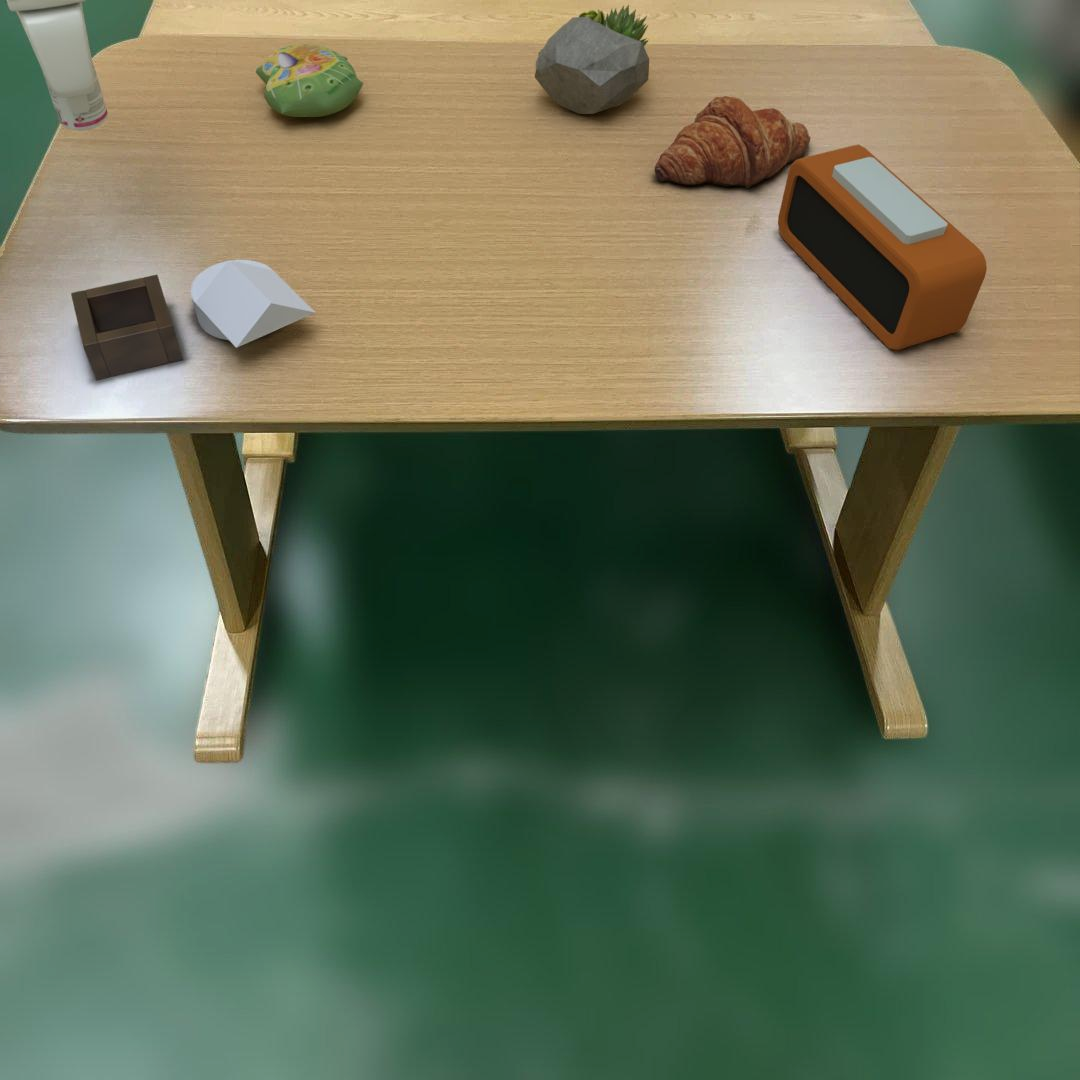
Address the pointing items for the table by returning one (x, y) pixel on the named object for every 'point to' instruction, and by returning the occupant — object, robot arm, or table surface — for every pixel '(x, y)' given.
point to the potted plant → (594, 61)
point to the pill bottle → (81, 120)
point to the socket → (129, 343)
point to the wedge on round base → (244, 301)
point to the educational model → (308, 81)
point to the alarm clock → (880, 246)
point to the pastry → (732, 146)
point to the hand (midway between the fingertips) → (75, 94)
